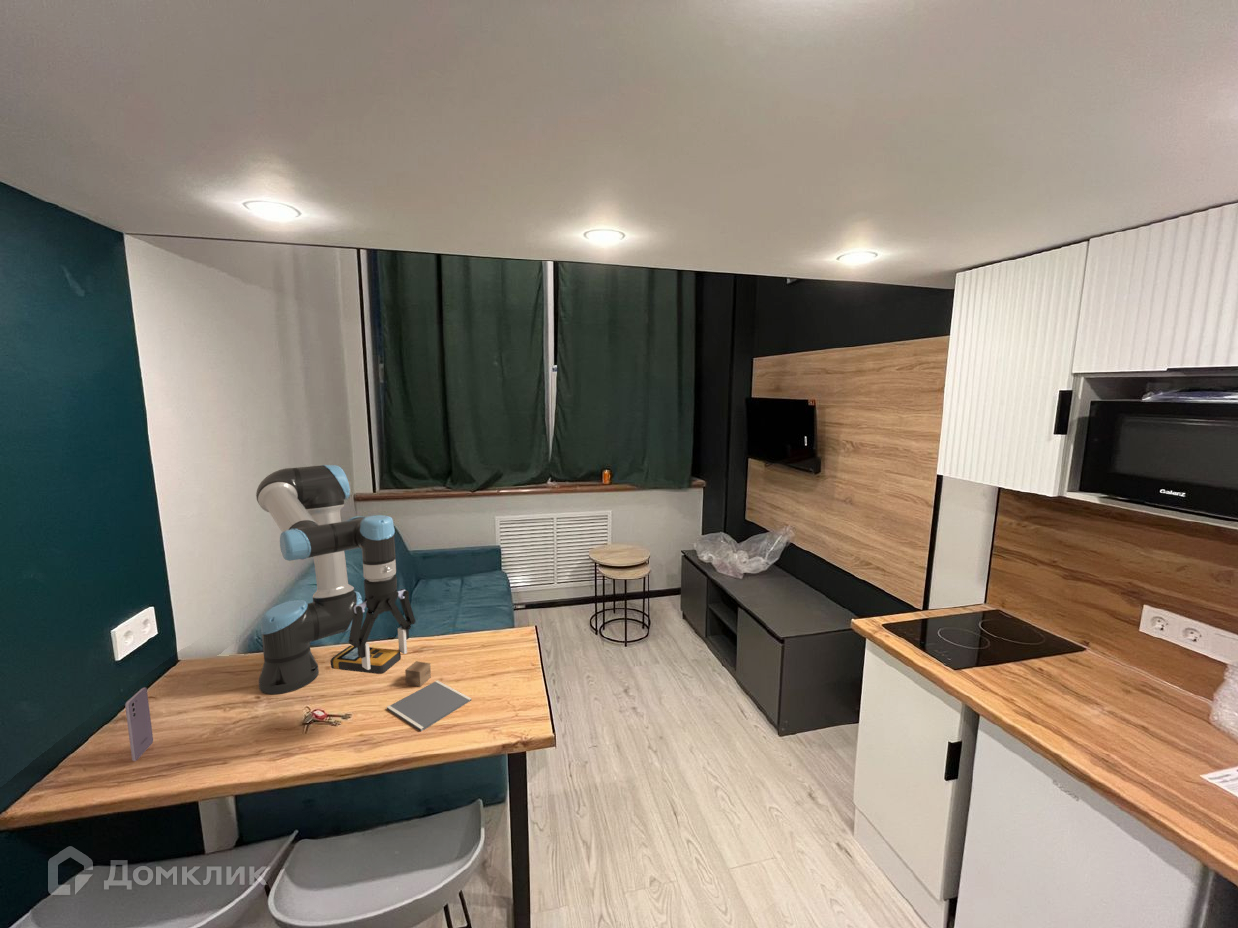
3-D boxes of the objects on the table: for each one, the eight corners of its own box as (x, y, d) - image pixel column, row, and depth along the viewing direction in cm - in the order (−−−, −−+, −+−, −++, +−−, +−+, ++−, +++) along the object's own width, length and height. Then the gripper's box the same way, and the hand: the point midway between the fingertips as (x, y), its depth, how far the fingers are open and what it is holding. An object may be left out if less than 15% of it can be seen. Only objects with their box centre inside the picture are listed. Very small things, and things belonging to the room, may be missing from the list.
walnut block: (406, 685, 147) (405, 669, 146) (416, 676, 152) (416, 661, 151) (420, 687, 146) (419, 671, 145) (430, 678, 151) (430, 663, 150)
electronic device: (382, 677, 124) (380, 665, 123) (329, 670, 127) (328, 658, 127) (403, 659, 132) (402, 647, 131) (353, 653, 135) (352, 642, 135)
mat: (386, 709, 135) (386, 706, 135) (437, 682, 148) (437, 680, 148) (421, 731, 126) (421, 728, 126) (471, 700, 139) (471, 698, 139)
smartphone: (150, 742, 122) (143, 686, 120) (154, 741, 122) (147, 685, 120) (131, 762, 115) (124, 703, 113) (136, 762, 115) (128, 702, 113)
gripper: (342, 593, 114) (349, 683, 117) (427, 568, 131) (431, 647, 134) (328, 586, 118) (334, 673, 121) (411, 562, 136) (415, 639, 139)
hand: (385, 659), depth 128 cm, fingers closed on electronic device, 9 cm apart
